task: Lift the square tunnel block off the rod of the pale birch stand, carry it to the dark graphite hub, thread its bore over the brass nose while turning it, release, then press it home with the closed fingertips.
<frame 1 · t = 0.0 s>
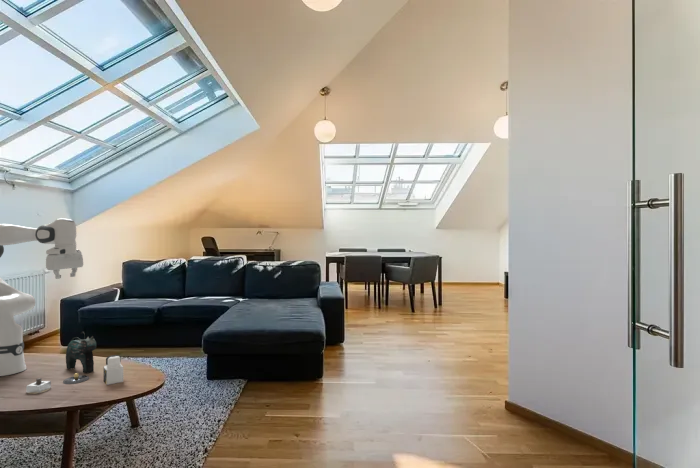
hand: (65, 277, 202), 48 cm above the table, fingers open, 8 cm apart
stand: (38, 392, 176), on the table
square tunnel block: (38, 390, 176), point 1 cm above the table, touching stand
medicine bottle: (113, 381, 189), on the table
bull figurine: (79, 371, 205), on the table
hub: (76, 382, 188), on the table
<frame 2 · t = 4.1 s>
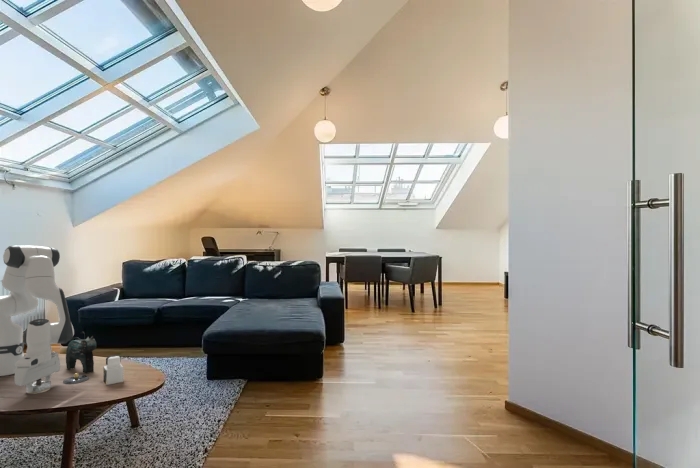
hand: (38, 388, 176), 2 cm above the table, fingers closed on square tunnel block, 6 cm apart
square tunnel block: (38, 390, 176), point 1 cm above the table, touching gripper, stand
everything else where it was.
when the fingers open (3 cm above the table, at t = 9.9 s): square tunnel block stays where it is, resting on hub.
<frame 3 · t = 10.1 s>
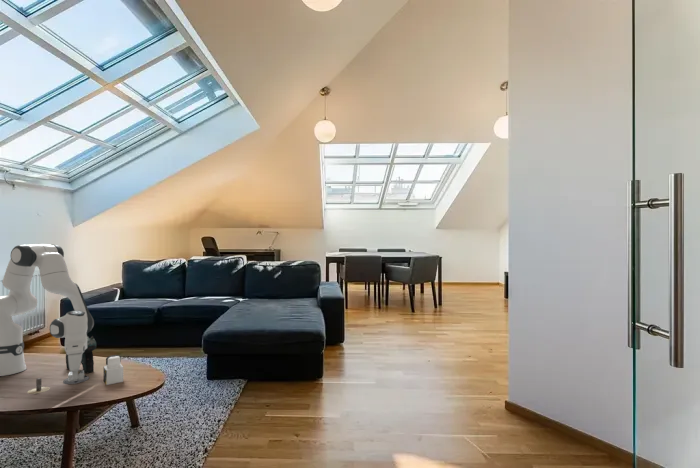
hand: (76, 375, 188), 3 cm above the table, fingers open, 8 cm apart
square tunnel block: (76, 378, 189), point 1 cm above the table, touching hub
everything else where it was.
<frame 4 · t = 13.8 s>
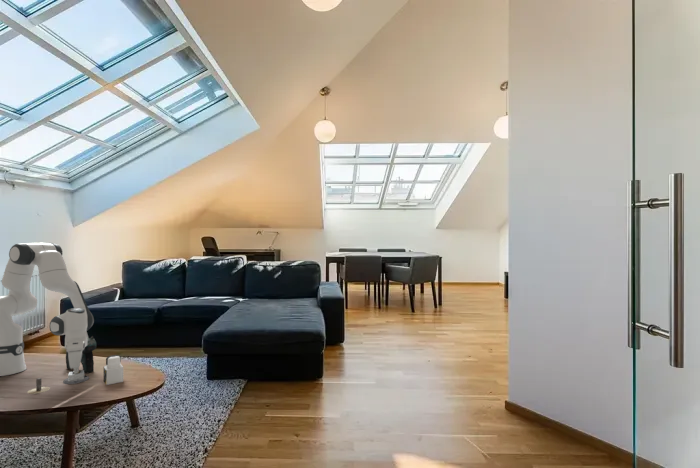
hand: (76, 372, 188), 5 cm above the table, fingers closed
square tunnel block: (76, 378, 189), point 1 cm above the table, touching gripper, hub
everything else where it was.
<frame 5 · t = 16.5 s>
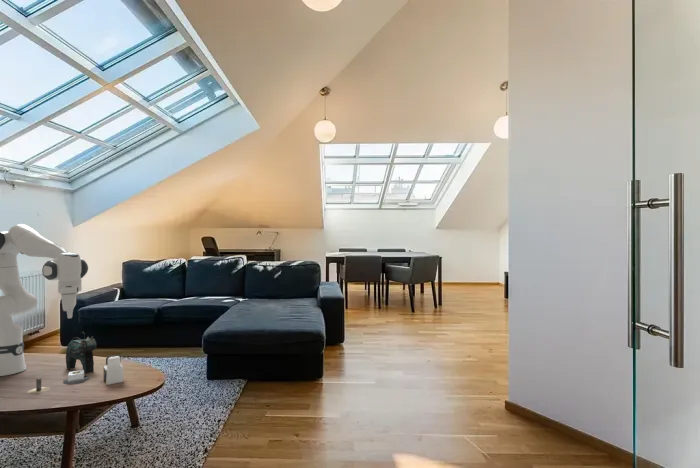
hand: (69, 317, 185), 31 cm above the table, fingers closed
square tunnel block: (76, 378, 189), point 1 cm above the table, touching hub
everything else where it was.
at the end: square tunnel block 0.1 cm off-centre on the hub, point 1.5 cm above the hub's base; square tunnel block tilted 0° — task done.
